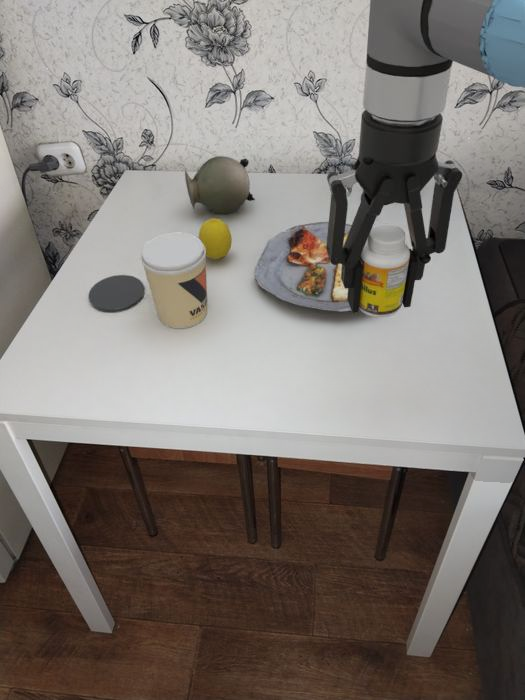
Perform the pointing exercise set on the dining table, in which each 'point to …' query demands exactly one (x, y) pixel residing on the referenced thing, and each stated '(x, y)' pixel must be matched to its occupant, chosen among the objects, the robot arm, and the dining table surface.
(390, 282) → the supplement bottle
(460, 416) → the dining table surface
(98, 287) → the slate coaster
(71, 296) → the dining table surface
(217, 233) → the lemon
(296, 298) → the food plate
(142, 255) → the coffee cup
